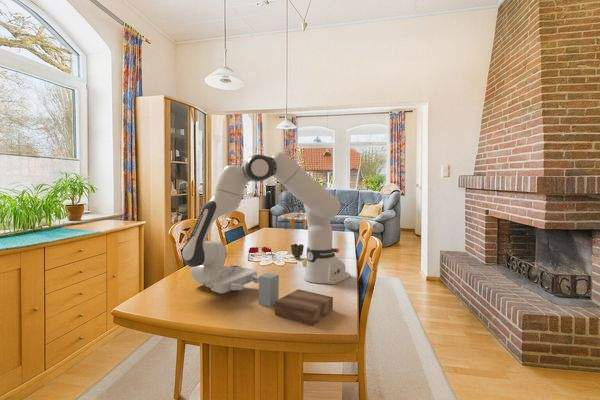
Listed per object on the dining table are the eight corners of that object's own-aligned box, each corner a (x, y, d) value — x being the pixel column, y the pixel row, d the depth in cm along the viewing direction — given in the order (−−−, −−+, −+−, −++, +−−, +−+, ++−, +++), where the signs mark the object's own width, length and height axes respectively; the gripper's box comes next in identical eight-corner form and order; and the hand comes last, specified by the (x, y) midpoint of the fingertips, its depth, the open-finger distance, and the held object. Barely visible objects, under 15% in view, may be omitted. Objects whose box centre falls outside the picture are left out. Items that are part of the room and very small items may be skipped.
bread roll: (300, 264, 166) (300, 257, 165) (315, 263, 168) (315, 256, 168) (305, 268, 158) (305, 260, 157) (321, 267, 161) (321, 259, 160)
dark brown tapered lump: (305, 257, 179) (305, 244, 179) (301, 260, 172) (301, 246, 172) (292, 256, 181) (292, 243, 181) (288, 259, 174) (289, 245, 174)
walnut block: (298, 302, 113) (298, 289, 113) (332, 311, 106) (332, 297, 105) (274, 316, 101) (275, 301, 101) (312, 327, 94) (312, 311, 94)
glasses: (271, 254, 188) (271, 246, 188) (273, 261, 172) (273, 252, 172) (248, 254, 186) (248, 246, 186) (248, 261, 170) (248, 252, 170)
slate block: (258, 304, 110) (259, 276, 110) (267, 299, 115) (267, 272, 114) (270, 307, 108) (270, 278, 107) (278, 302, 112) (278, 275, 111)
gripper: (203, 276, 113) (231, 283, 106) (241, 264, 131) (267, 269, 124) (203, 293, 114) (231, 301, 107) (241, 278, 131) (267, 284, 124)
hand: (250, 283), depth 115 cm, fingers open, 8 cm apart
